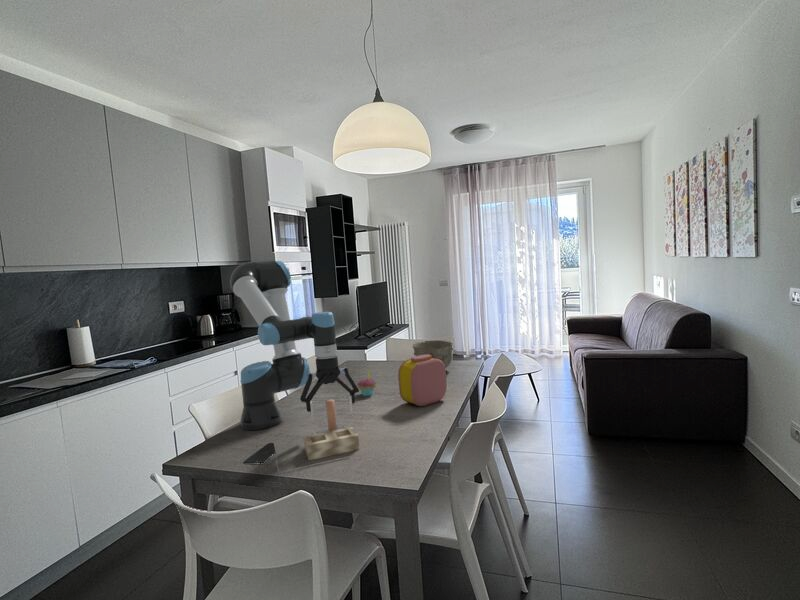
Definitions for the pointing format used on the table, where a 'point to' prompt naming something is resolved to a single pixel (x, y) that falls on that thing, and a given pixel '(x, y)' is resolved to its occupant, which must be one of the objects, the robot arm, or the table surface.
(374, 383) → the cupcake
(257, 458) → the smartphone
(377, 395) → the table surface
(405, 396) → the alarm clock
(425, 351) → the bowl
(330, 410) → the peg
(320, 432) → the mat
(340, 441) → the hole block
